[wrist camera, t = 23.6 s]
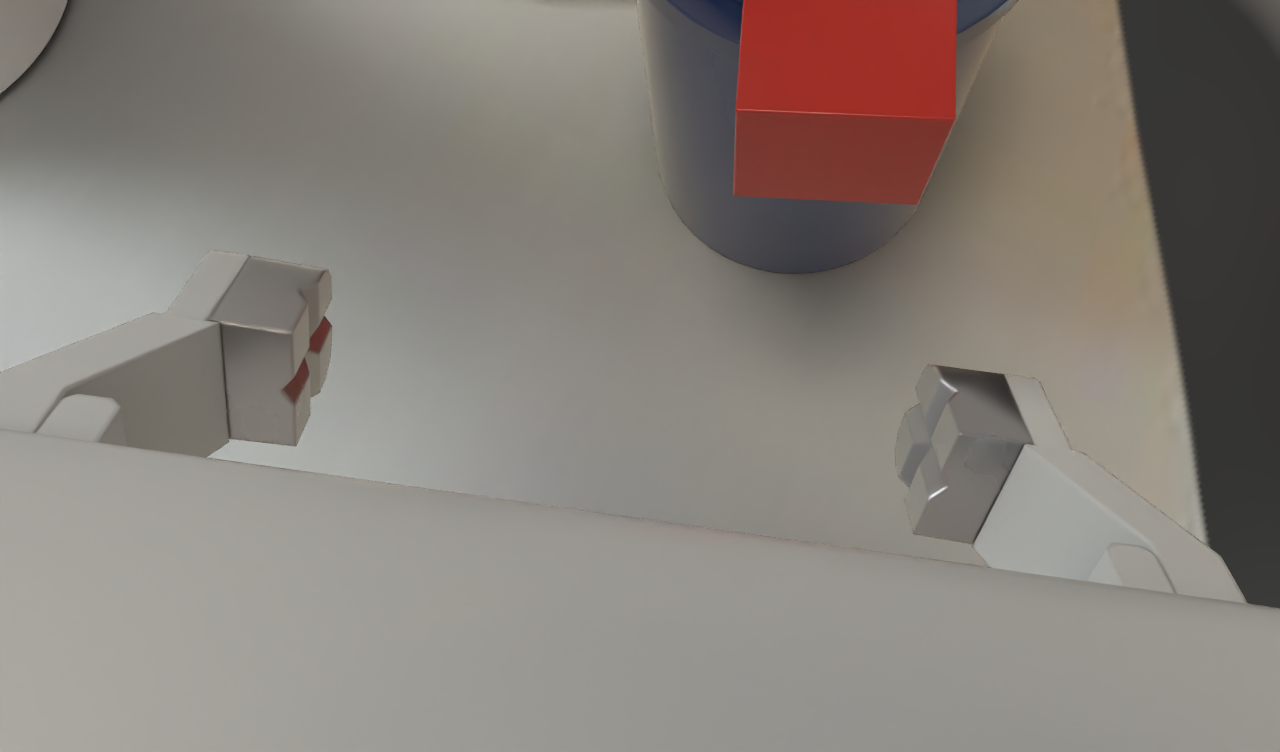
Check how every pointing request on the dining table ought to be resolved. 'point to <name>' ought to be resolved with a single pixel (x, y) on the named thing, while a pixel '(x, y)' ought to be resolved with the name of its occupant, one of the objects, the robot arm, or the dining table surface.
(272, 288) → the robot arm
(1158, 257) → the dining table surface
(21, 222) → the dining table surface
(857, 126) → the red rectangular block
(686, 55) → the pot
